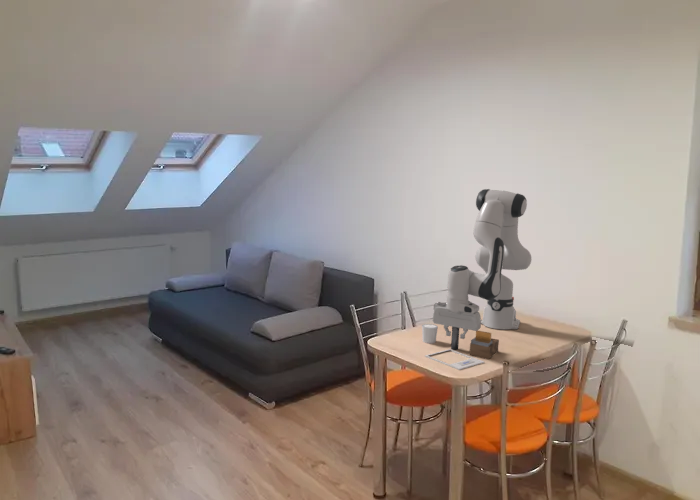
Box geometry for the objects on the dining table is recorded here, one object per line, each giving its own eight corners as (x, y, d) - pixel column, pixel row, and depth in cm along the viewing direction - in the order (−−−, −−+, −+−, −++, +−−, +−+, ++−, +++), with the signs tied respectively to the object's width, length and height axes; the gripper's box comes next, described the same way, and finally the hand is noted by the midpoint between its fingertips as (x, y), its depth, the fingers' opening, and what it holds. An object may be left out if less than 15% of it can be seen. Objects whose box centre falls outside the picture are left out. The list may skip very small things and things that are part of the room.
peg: (452, 347, 234) (453, 324, 233) (459, 348, 232) (460, 325, 231) (449, 349, 232) (451, 326, 230) (456, 350, 230) (457, 327, 229)
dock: (479, 347, 235) (480, 336, 234) (498, 351, 230) (498, 339, 230) (469, 355, 224) (470, 343, 224) (488, 359, 220) (489, 347, 220)
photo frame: (459, 368, 207) (424, 354, 221) (459, 371, 207) (424, 357, 221) (484, 361, 216) (450, 348, 230) (484, 363, 216) (449, 351, 230)
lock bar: (475, 340, 227) (475, 330, 227) (492, 343, 224) (492, 333, 223) (470, 343, 223) (471, 332, 223) (488, 346, 219) (488, 336, 219)
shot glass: (437, 340, 244) (438, 324, 243) (436, 344, 237) (436, 328, 236) (422, 338, 246) (423, 323, 245) (420, 342, 239) (420, 327, 238)
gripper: (430, 302, 232) (429, 334, 234) (478, 310, 221) (475, 343, 223) (436, 299, 237) (435, 331, 239) (483, 307, 227) (481, 339, 229)
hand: (455, 337), depth 231 cm, fingers open, 5 cm apart
